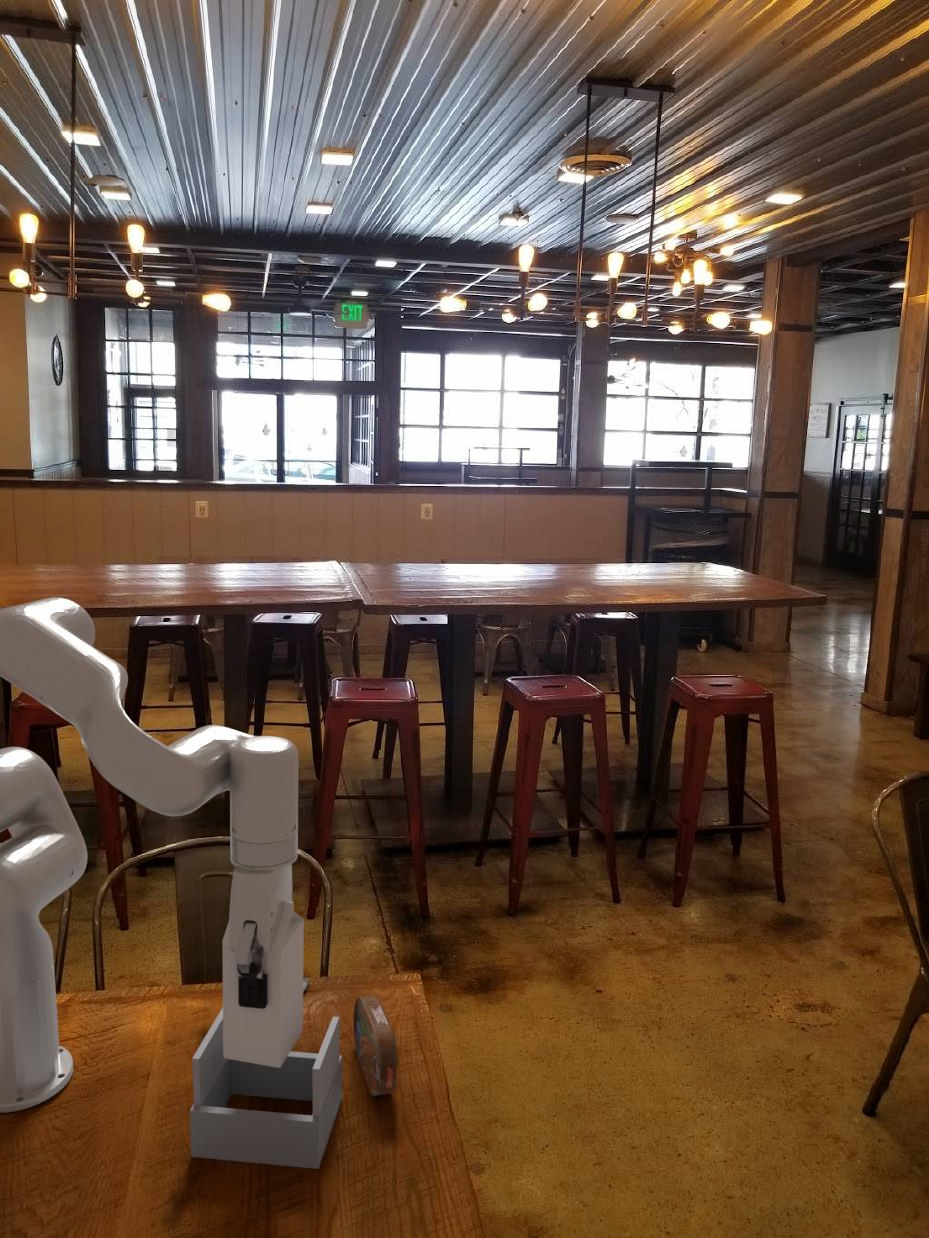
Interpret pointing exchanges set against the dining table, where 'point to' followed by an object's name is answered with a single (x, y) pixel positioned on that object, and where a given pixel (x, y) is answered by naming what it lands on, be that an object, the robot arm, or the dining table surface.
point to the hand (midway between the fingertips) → (264, 984)
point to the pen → (305, 984)
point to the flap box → (260, 1130)
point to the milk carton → (281, 1021)
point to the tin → (375, 1045)
